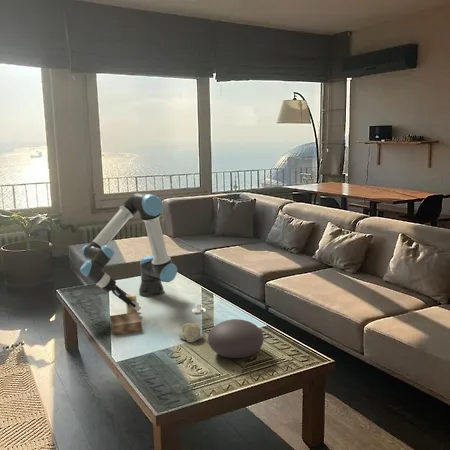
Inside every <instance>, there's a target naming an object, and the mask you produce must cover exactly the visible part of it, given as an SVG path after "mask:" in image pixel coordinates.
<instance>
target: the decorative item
mask: <svg viewBox="0 0 450 450" xmlns="http://www.w3.org/2000/svg"><path fill="white" fill-rule="evenodd" d="M201 331H202V330H201V328H200V326H199V325H197V324H196V323H195V322H188V323H184V324H183V325H182V326H181V329H180V330H179V332H178V337H179V339H180V340H185V341H187V343H195V342H196V341H198V340H199V339H200V338H201V336H202V335H201Z"/></svg>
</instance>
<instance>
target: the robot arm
mask: <svg viewBox="0 0 450 450" xmlns="http://www.w3.org/2000/svg"><path fill="white" fill-rule="evenodd" d="M163 208H164V207H163V202H162V200H161V198H160V197H159V196H158V195H155V194H151V193H142V192H136V193H134V194H132V195H130V196H129V197H128V198H126V199H125V201H123V203H122V204H121V205H120V206H119V209H118V211H117V212H116V213H115V214H114V215H113V217H112V218H111V219H110V220H109V222H107V224H106V225H105V226H104V227H103V229H102V230H101V231H100V232H98V235H96V236H95V238H94V239H93V240H92V241H91V242H90V243H89V244H87V245H84V246H82V248H81V252H80V254H81V256H82V258H85V259H86V260H85V262H84V263H83V264H82V265H81V267H80V268H79V272H80V273H81V274H82V275H83V276H84V277H86V278H87V279H89V280H90V281H91V282H93V283H94V284H95V286H96V287H99V288H101V289H102V290H103V291H104V292H105V293H110V292H112V294H113V295H114V296H116V297H117V298H119V300H121V301H122V302H124V303H125V304H127V306H129V305H130V306H131V307H133V308H134V309H135V310H136V311H137V312H139V311H140V310H141V309H142V307H141V306H140V303H139V302H138V301H137V304H136V303H135V302H133V301H132V300H130V299H129V298H128V297H126V294H128V293H126V291H124V290H123V289H121V288H120V287H119V286H118V285H116V283H117V281H116V280H115V279H114V278H112V277H111V276H110V275H109V274H107V273H106V272H104V268H105V267H106V266H107V265H108V263H109V262H110V261H111V259H112V258H113V257H114V255H115V251H114V250H113V248H111V247H110V246H108V244H110V242H111V241H112V240H113V238H115V236H116V235H117V234H118V233H119V232H120V230H121V229H122V228H123V226H124V225H125V224H126V223H127V222H128V221H129V220H130V219H132V218H134V216H135V215H137V214H139V217H140V220H141V221H142V222H143V223H144V226H145V230H146V235H147V238H148V242H149V245H150V246H149V247H150V250H151V254H152V255H148V256H144V257H142V258H140V261H139V266H140V281H141V282H140V285H139V289H138V294H139V296H142V297H157V296H160V295H162V294H163V293H164V291H165V289H164V286H163V284H162V283H170V282H172V281H174V280H175V279H176V276H177V274H178V267H177V265H176V264H174V263H173V261H172V258H171V256H170V255H168V251H167V248H166V247H167V246H166V243H165V238H164V235H163V231H162V225H161V222H160V218H161V214H162V209H163Z"/></svg>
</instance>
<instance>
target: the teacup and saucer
mask: <svg viewBox="0 0 450 450" xmlns="http://www.w3.org/2000/svg"><path fill="white" fill-rule="evenodd" d="M201 310H203V311H201ZM206 311H207V310H206V308H204V307H202V303H200V302H199V303H196V304H195V308H192V309H191V312H192V313H194V314H202V313H205V312H206Z"/></svg>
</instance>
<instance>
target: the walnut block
mask: <svg viewBox="0 0 450 450" xmlns="http://www.w3.org/2000/svg"><path fill="white" fill-rule="evenodd" d="M109 323H110V328H111V331H112V333H113V334H112V335H113V336H116V335H117V336H119V335H124V334H131V333H138V332H142V331H143V328H142V320H141V317H140V316H139V314H138V311H137V312H134V313H127V312H126V313H122V314H114V315H110V316H109Z"/></svg>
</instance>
